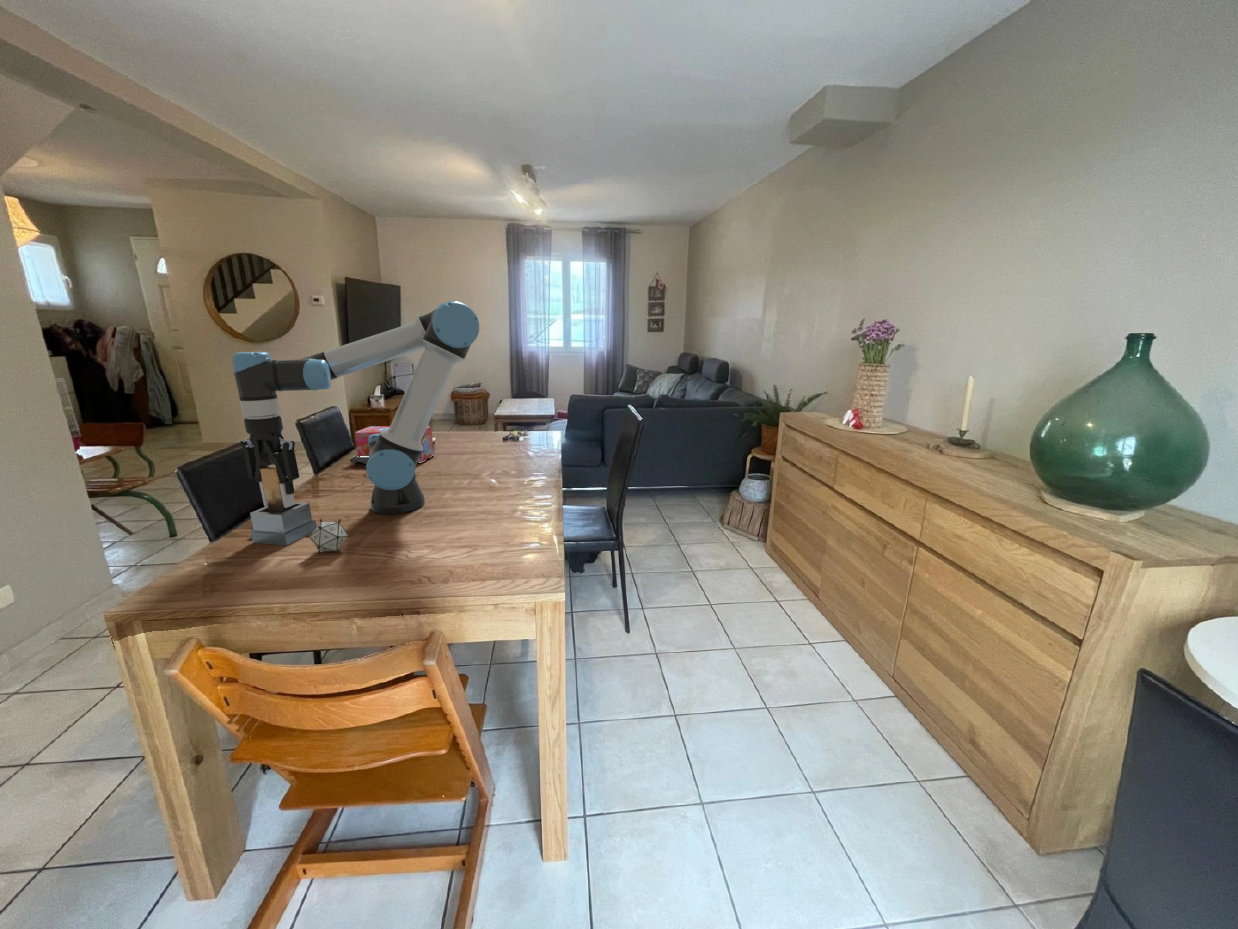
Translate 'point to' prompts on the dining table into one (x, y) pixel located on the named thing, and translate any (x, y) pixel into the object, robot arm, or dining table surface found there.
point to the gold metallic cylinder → (272, 488)
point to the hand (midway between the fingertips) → (279, 505)
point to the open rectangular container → (282, 524)
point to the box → (363, 434)
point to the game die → (328, 536)
